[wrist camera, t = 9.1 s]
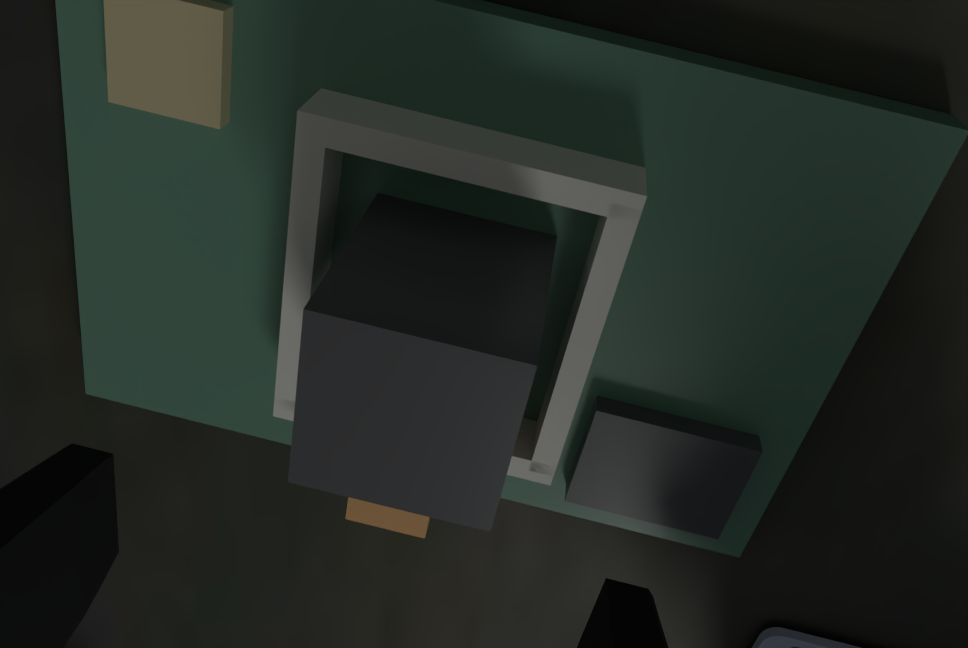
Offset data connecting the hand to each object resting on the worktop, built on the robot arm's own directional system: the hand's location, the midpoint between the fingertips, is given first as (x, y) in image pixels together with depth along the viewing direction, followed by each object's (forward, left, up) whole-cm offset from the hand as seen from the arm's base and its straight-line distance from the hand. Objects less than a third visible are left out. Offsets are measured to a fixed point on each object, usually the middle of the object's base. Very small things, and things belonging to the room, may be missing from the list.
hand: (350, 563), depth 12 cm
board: (0, 0, -9) cm, 9 cm away
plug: (0, 0, -8) cm, 8 cm away
